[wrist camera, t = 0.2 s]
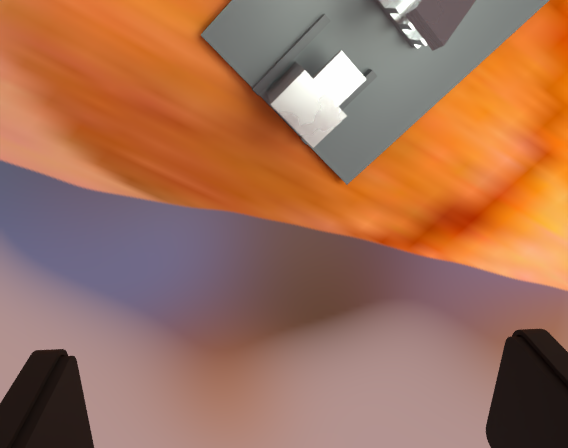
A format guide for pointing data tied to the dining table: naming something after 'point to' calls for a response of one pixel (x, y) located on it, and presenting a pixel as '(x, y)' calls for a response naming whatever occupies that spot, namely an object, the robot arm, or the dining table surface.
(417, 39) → the heatsink
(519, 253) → the dining table surface
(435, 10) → the silver metal bar
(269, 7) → the socket board
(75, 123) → the dining table surface
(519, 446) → the robot arm
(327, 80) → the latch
